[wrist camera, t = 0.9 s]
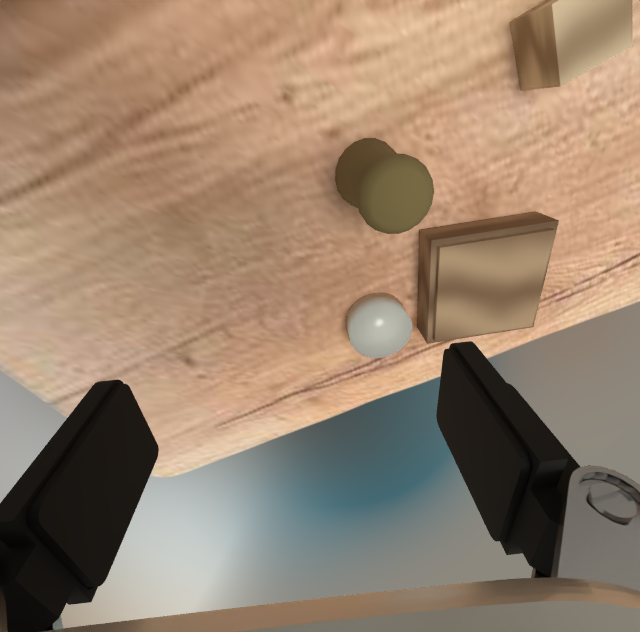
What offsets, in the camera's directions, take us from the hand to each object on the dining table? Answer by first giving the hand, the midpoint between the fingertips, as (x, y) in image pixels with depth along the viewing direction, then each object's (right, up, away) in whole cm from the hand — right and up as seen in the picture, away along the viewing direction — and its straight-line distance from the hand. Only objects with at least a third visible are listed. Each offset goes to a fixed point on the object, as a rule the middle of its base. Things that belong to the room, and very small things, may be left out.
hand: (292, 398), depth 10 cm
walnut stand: (+18, +7, +27) cm, 33 cm away
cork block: (+19, +25, +17) cm, 35 cm away
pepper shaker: (+5, +16, +21) cm, 27 cm away
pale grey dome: (+7, +2, +29) cm, 30 cm away
